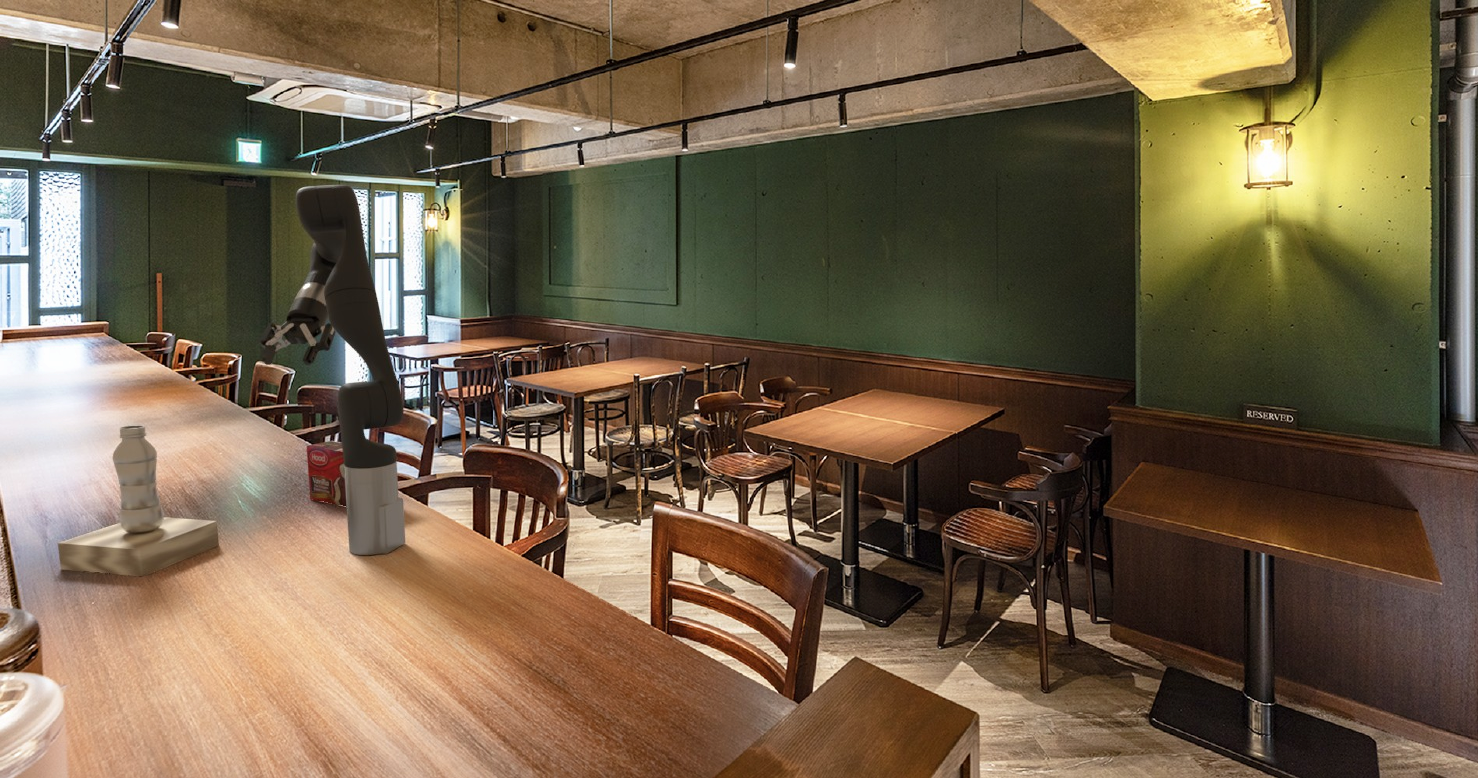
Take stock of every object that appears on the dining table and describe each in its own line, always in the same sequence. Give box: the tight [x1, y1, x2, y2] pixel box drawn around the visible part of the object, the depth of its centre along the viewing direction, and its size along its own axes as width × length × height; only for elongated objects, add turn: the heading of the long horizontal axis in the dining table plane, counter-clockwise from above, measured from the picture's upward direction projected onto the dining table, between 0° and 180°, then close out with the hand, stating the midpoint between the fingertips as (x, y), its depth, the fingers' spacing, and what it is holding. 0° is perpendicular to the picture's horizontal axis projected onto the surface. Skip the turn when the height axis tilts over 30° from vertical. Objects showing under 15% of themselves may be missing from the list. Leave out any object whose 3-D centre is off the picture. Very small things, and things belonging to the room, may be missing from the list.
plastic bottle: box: [112, 424, 165, 533], centre depth 137 cm, size 6×7×20 cm
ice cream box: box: [306, 440, 347, 508], centre depth 174 cm, size 20×6×13 cm, turn 65°
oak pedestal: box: [57, 516, 220, 578], centre depth 139 cm, size 17×16×5 cm
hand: (286, 362), depth 158 cm, fingers open, 8 cm apart
